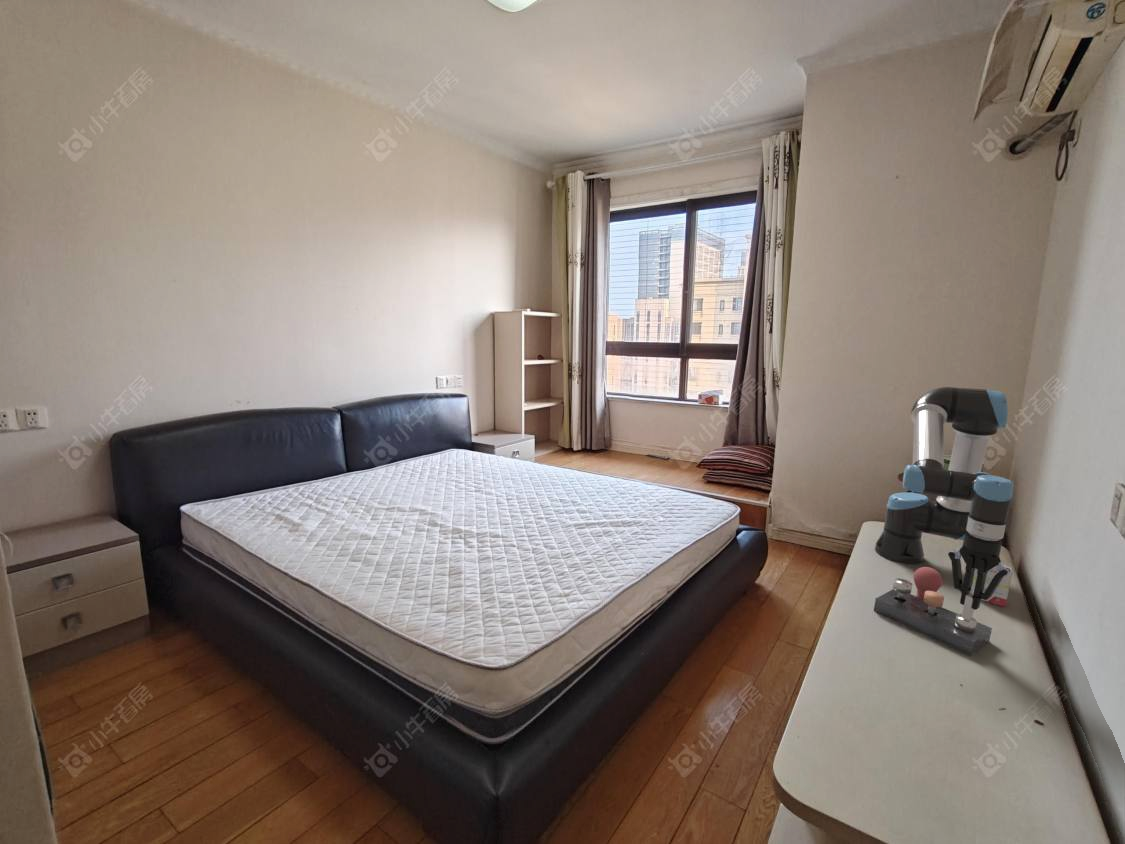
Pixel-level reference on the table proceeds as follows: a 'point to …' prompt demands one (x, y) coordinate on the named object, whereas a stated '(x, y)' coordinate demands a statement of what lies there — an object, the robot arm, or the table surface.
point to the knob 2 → (933, 601)
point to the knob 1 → (902, 588)
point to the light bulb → (927, 581)
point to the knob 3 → (965, 623)
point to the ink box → (1001, 590)
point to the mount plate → (932, 622)
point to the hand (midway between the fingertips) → (966, 617)
